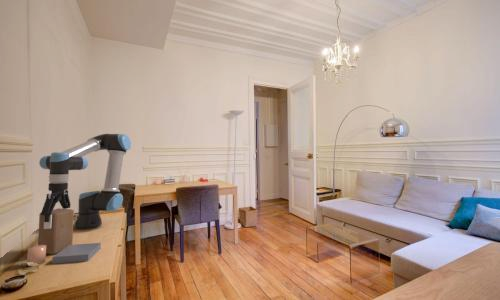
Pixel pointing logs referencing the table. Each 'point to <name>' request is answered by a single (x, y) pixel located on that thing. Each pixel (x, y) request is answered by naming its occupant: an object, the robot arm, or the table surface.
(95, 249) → the slate plinth
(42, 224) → the wooden block
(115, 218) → the table surface
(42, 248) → the reddish brown block
